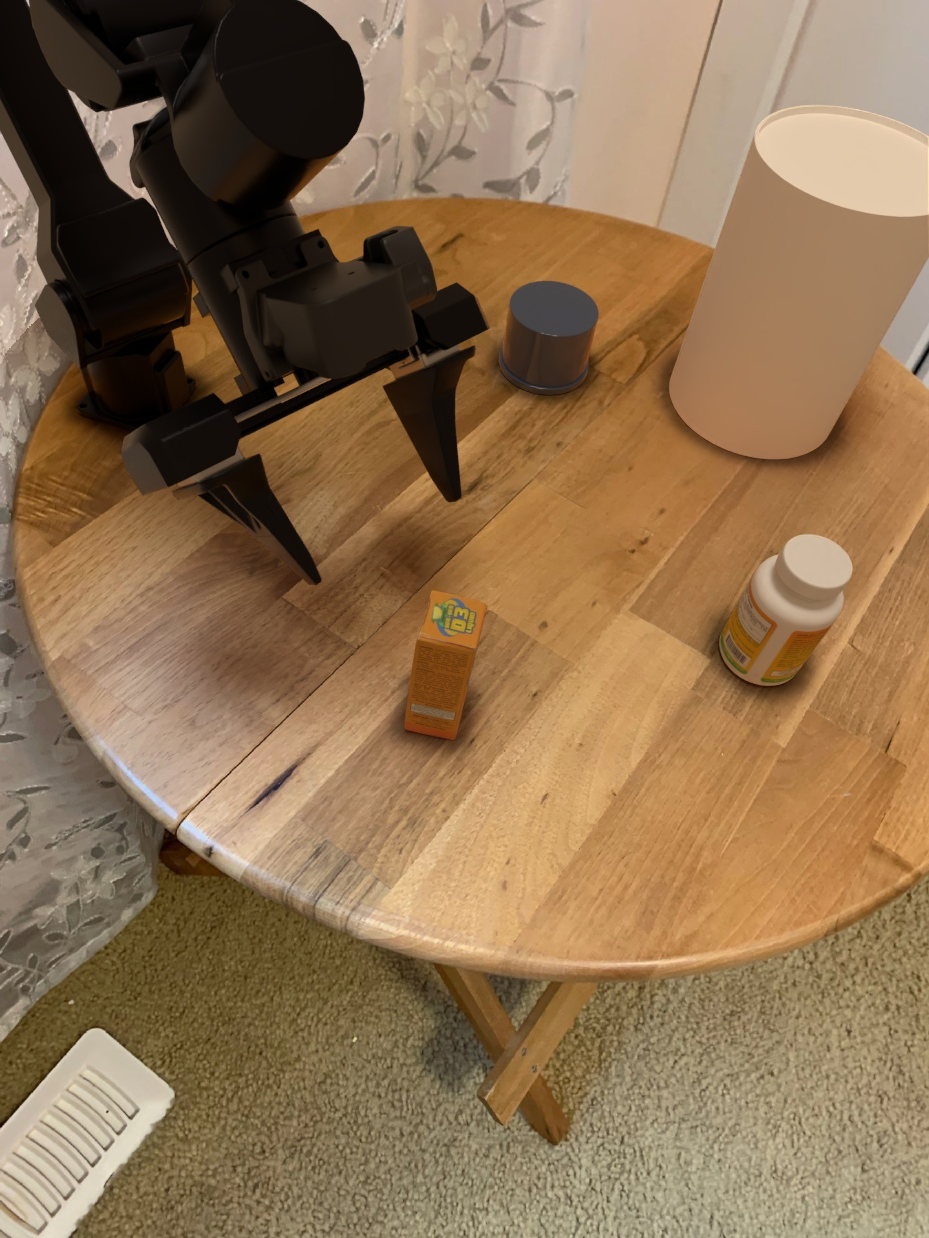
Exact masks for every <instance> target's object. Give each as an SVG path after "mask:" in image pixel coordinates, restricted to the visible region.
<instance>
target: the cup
mask: <svg viewBox="0 0 929 1238" xmlns="http://www.w3.org/2000/svg"><path fill="white" fill-rule="evenodd" d="M508 302H509V303H508V309H507V316H506V322H505V330H504V336H503V343H502V345H501V347H500V348H499V352H498V366H499V367H498V368H499V369H500V371H501V373H502V374H503V376H504V377H505V378H506V380H507V381H509V382H510V383H511V384H513V385H514V386H516V387H517V388H519V389H522V390H523V391H526V392H529V393H532V394H536V395H545V396H557V395H563V394H566V393H570V392H572V391H574V390H576V389H578V388H579V387H580V386H581V385H582V384H583V383H584V382H585V380H586V379H587V377H588V376H587V375H588V371H589V368H590V367H589V366H590V364H589V359H590V354H591V350H592V345H593V341H594V337H595V333H596V329H597V326H598V321H599V317H600V311H599V308H598V305H597V303H596V301H595V300H594V299H593V297H591V295H589V294H588V293H587V292H585V291H584V290H582V289H581V288H578V287H577V286H575V285H572V284H569V283H565V282H563V281H556V280H537V281H532V282H528V283H525V284H523V285H521V286H519V287H518V288H517V289H516V290H514V291H513V293H512V295H511V296H510V298H509V301H508Z"/></svg>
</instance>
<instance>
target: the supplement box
mask: <svg viewBox="0 0 929 1238" xmlns="http://www.w3.org/2000/svg"><path fill="white" fill-rule="evenodd" d="M487 609H488V604H487V603H486V602H483V601H479V600H475V599H472V598H468V597H464V596H461V595H457V594H451V593H449V592H444V591H438V590H431V591H430V596H429V599H428V603H427V607H426V611H425V613H424V617H423V620H422V624H421V627H420V629H419V632H418V634H417V637H416V642H415V646H414V651H413V658H412V664H411V669H410V677H409V684H408V693H407V700H406V706H405V715H404V726H403V727H404V729H405V730H406V731H408V732H409V731H410V732H414V733H419V734H423V735H428V736H432V737H436V738H442V739H447V740H452V741H453V740H456V738H457V734H458V731H459V727H460V723H461V719H462V716H463V711H464V707H465V703H466V697H467V692H468V689H469V686H470V685H469V684H470V680H471V675H472V672H473V668H474V663H475V659H476V655H477V651H478V647H479V642H480V638H481V635H482V630H483V627H484V622H485V619H486V614H487V611H488V610H487Z"/></svg>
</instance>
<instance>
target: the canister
mask: <svg viewBox="0 0 929 1238" xmlns="http://www.w3.org/2000/svg"><path fill="white" fill-rule="evenodd" d="M736 183H737V184H736V186H735V189H734V192H733V194H732V198H731V200H730V204H729V206H728V209H727V212H726V215H725V219H724V221H723V225H722V226H721V227H722V228H721V230H720V232H719V237H718V239H717V241H716V243H715V244H716V245H715V248H714V250H713V253H712V256H711V259H710V262H709V264H708V267H707V271H706V274H705V276H704V279H703V282H702V285H701V288H700V291H699V294H698V296H697V300H696V302H695V306H694V309H693V310H692V314H691V317H690V320H689V323H688V326H687V329H686V331H685V334H684V337H683V340H682V343H681V346H680V348H679V352H678V355H677V357H676V360H675V364H674V366H673V369H672V372H671V375H670V377H669V382H668V392H669V397H670V401H671V403H672V406H673V408H674V410H675V412H676V413H677V414H678V416H679V417H680V419H681V420H682V421H683V422H684V423H685V424H686V425H687V426H688V427H689V428H690V429H691V430H692V431H693V432H695V434H697V435H698V436H700V437H701V438H703V439H705V440H706V441H708V442H709V443H710V444H713V445H714V446H717V447H719V448H721V449H723V450H726V451H729V452H731V453H734V454H737V455H740V456H743V457H748V458H753V459H760V460H787V459H792V458H793V459H794V458H797V457H802V456H805V455H807V454H809V453H811V452H813V451H815V450H816V449H818V448H819V447H820V446H821V445H822V444H824V443H825V441H826V440H827V439H828V437H829V435H830V434H831V432H832V430H833V428H834V426H835V425H836V423H837V421H838V419H839V418H840V416H841V414H842V412H843V410H844V409H845V407H846V406H847V404H848V402H849V400H850V398H851V397H852V394H853V393H854V391H855V389H856V387H857V385H858V384H859V382H860V380H861V379H862V377H863V375H864V373H865V372H866V370H867V368H868V366H869V364H870V363H871V361H872V359H873V357H874V356H875V354H876V352H877V351H878V349H879V347H880V345H881V343H882V342H883V340H884V338H885V336H886V334H887V333H888V331H889V329H890V327H891V325H892V323H893V322H894V320H895V318H896V317H897V315H898V313H899V312H900V310H901V307H902V306H903V305H904V303H905V300H906V299H907V297H908V295H909V294H910V292H911V290H912V288H913V287H914V285H915V283H916V282H917V279H918V277H919V276H920V274H921V272H922V270H923V269H924V267H925V266H926V263H927V261H928V260H929V135H927V134H926V133H924V132H922V131H921V130H919V129H917V128H915V127H912V126H910V125H908V124H906V123H904V122H901V121H899V120H897V119H894V118H891V117H887V116H885V115H882V114H878V113H875V112H871V111H867V110H863V109H857V108H855V107H854V108H853V107H849V106H848V107H847V106H840V105H831V104H805V105H796V106H790V107H785V108H783V109H779V110H776V111H774V112H773V113H770V114H769V115H767V116H766V117H765V118H763V119H762V120H761V121H760V122H759V123H758V125H757V126H756V129H755V131H754V134H753V137H752V140H751V142H750V145H749V149H748V152H747V154H746V157H745V161H744V162H743V166H742V169H741V171H740V175H739V178H738V181H737V182H736Z"/></svg>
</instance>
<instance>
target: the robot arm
mask: <svg viewBox="0 0 929 1238" xmlns="http://www.w3.org/2000/svg"><path fill="white" fill-rule="evenodd" d="M70 92H72V93H74V95H75V96H76V97H77V99H79V100H80V102H81V103H83V105H85V106H86V107H87V108H89V109H90V110H92V111H93V112H95V113H100V112H105V113H108V112H113V111H117V110H121V109H124V108H127V107H131V106H135V105H139V104H142V103H146V102H149V101H153V100H156V99H157V100H158V99H160V98H163V100H164V103H165V105H166V106H165V107H163V108H161V109H160V110H159V111H158V112H156V114H155V115H154V116H153V117H152V118H150V119H147V120H143V121H139V122H135V123H134V124H133V125H132V129H131V131H132V136H133V148H132V152H131V155H130V158H129V163H128V166H129V167H128V168H129V173H130V178H131V181H132V184H133V185H134V186H135V188H137V189H144V188H145V190H146V193H147V194H148V196H149V197H150V200H151V201H152V203H153V205H154V206H153V205H152V204H151V202H149V200H147V199H146V198H145V197H143V196H141V197H138V198H135V197H133V196H132V195H131V194H130V193H128V192H127V191H125V190H124V189H123V188H122V187H120V186H119V185H118V184H117V183H115V182H114V181H113V180H112V179H111V178H110V177H109V174H108V173H107V171H106V169H105V167H104V164H103V162H102V159H101V158H100V156H99V153H98V151H97V150H96V147H95V145H94V143H93V141H92V139H91V136H90V134H89V132H88V129H87V128H86V125H85V123H84V121H83V119H82V116H81V115H80V113H79V111H78V108H77V107H76V104H75V102H74V100H73V98H72V96H71V94H70ZM365 104H366V94H365V85H364V78H363V74H362V70H361V68H360V65H359V61H358V58H357V56H356V54H355V52H354V50H353V48H352V46H351V43H349V41H347V40H346V39H343V38H342V37H341V35H340V34H339V33H338V31H337V30H336V28H335V27H334V26H333V25H332V24H331V23H330V22H329V21H328V20H327V19H326V18H324V16H323V15H322V14H321V13H319V12H318V11H317V10H315V9H313V8H312V7H311V6H309V5H308V4H306V3H304V2H303V1H301V0H28V1H27V0H0V134H1V136H2V137H3V140H4V142H5V143H6V146H7V147H8V149H9V152H10V153H11V156H12V157H13V160H14V161H15V164H16V166H17V168H18V169H19V171H20V173H21V175H22V177H23V179H24V181H25V183H26V185H27V187H28V189H29V191H30V193H31V195H32V198H33V199H34V202H35V204H36V205H37V208H38V216H37V235H36V254H35V257H36V262H37V265H38V267H39V269H40V271H41V273H42V276H43V277H44V280H45V281H46V284H45V285H44V286H43V288H42V290H41V291H40V293H39V296H38V298H37V300H36V301H35V303H34V308H35V310H36V313H37V315H38V316H39V317H38V318H39V319H40V321H41V324H42V325H43V328H44V330H45V332H46V334H47V336H48V337H49V338H50V339H51V340H52V341H53V342H54V343H55V345H56V346H57V347H58V348H59V349H60V350H61V351H62V352H63V353H64V355H66V356H67V357H68V359H69V360H70V361H71V362H72V363H73V364H74V365H75V366H76V367H77V368H78V369H79V370H80V373H81V375H82V378H83V379H82V380H83V382H84V385H85V387H86V391H87V393H86V394H85V395H84V396H83V397H82V398H81V400H79V402H78V403H77V404H76V405H75V406H76V407H75V408H76V410H77V413H78V414H79V415H82V416H85V417H88V418H91V419H94V420H98V421H100V422H103V423H106V424H110V425H113V426H116V427H119V428H122V429H126V430H129V431H131V432H130V433H128V434H127V435H125V436H124V437H123V441H122V445H121V449H120V455H121V458H122V462H123V464H124V466H125V469H126V470H127V473H128V474H129V476H130V477H131V479H132V481H133V483H134V485H135V486H136V488H137V489H138V491H139V493H140V495H141V497H144V496H147V495H151V494H154V493H156V492H160V491H162V490H165V489H168V488H171V487H173V486H175V485H177V486H178V487H177V488H175V489H173V490H171V494H172V495H173V497H174V498H175V500H176V501H182V500H184V499H188V498H192V497H195V496H196V497H198V498H199V499H201V500H202V501H203V502H204V503H207V504H208V505H210V506H211V507H212V508H214V509H215V510H217V511H218V512H220V513H221V514H223V515H224V516H226V517H227V518H228V519H230V520H232V522H234V523H236V524H237V525H238V526H240V527H241V528H243V529H244V530H245V531H246V532H247V533H248V534H250V536H252V537H253V538H254V539H255V540H257V541H258V542H259V543H260V544H261V545H263V547H265V548H266V549H267V550H268V551H269V552H271V553H272V554H273V555H274V556H275V557H276V558H277V559H279V560H280V561H281V562H282V563H283V564H284V565H286V566H287V567H288V568H289V569H290V570H291V571H292V572H293V573H295V574H296V576H298V577H299V578H300V579H301V580H303V581H304V582H305V583H306V584H307V585H309V586H318V585H320V584H321V583H322V581H323V578H322V576H321V574H320V572H319V569H318V567H317V564H316V562H315V561H314V558H313V556H312V554H311V552H310V551H309V548H308V547H307V546H306V544H305V542H304V541H303V539H302V538H301V536H300V534H299V533H298V531H297V529H296V527H295V525H293V523H292V521H291V520H290V518H289V516H288V515H287V513H286V512H285V509H284V508H283V506H282V505H281V503H280V501H279V500H278V498H277V497H276V495H275V494H274V492H273V490H272V488H271V486H270V483H269V479H268V476H267V474H266V469H265V465H264V462H263V457H262V455H261V453H257V454H253V455H250V456H247V457H245V456H244V453H243V452H242V450H241V448H240V446H239V442H240V440H241V439H243V438H245V437H247V436H249V435H251V434H253V433H255V432H258V431H260V430H262V429H264V428H266V427H268V426H270V425H272V424H274V423H276V422H279V421H280V420H282V419H284V418H286V417H288V416H291V415H293V414H294V413H296V412H298V411H301V410H302V409H304V408H307V407H309V406H311V405H313V404H315V403H317V402H319V401H321V400H323V399H325V398H328V397H329V396H331V395H333V394H335V393H338V392H339V391H342V390H343V389H346V388H348V387H350V386H352V385H354V384H356V383H358V382H360V381H363V380H364V379H366V378H368V377H370V376H372V375H375V374H377V373H378V372H380V371H382V370H384V369H386V370H388V371H390V372H391V373H392V376H393V378H394V379H393V380H391V381H390V382H387V383H386V384H383V385H382V389H383V391H384V392H385V395H386V397H387V399H388V400H389V402H390V404H391V406H392V408H393V410H394V412H395V413H396V415H397V417H398V419H399V421H400V423H401V425H402V426H403V428H404V430H405V432H406V434H407V436H408V438H409V440H410V442H411V443H412V445H413V447H414V450H415V452H416V453H417V455H418V457H419V459H420V461H421V462H422V464H423V466H424V469H425V470H426V472H427V473H428V476H429V477H430V479H431V481H432V482H433V484H434V485H435V487H436V488H437V489H438V491H439V493H440V494H441V495H442V497H443V498H444V500H445V501H446V502H447V503H456V502H458V501H460V500H461V499H462V495H463V494H462V481H461V471H460V470H461V469H460V461H459V459H460V458H459V450H458V449H459V448H458V438H457V426H456V425H457V424H456V398H457V397H456V396H457V395H456V394H457V387H458V385H459V382H460V379H461V376H462V372H463V370H464V367H465V365H466V363H467V361H468V360H470V359H472V358H474V357H475V356H476V350H477V348H476V345H475V344H474V345H471V346H469V347H466V348H464V349H461V348H460V344H462V343H464V342H466V341H467V340H469V339H472V338H474V337H476V336H478V335H480V334H482V333H484V332H487V331H488V330H490V329H491V327H490V324H489V322H488V320H487V318H486V315H485V313H484V311H483V307H482V305H481V302H480V300H479V298H478V297H477V296H476V295H475V294H474V293H472V292H471V291H469V290H468V289H467V288H466V287H464V286H463V285H462V284H460V283H459V282H457V281H456V282H453V283H452V284H449V285H447V286H445V287H443V288H441V289H438V286H437V285H438V284H437V281H436V276H435V272H434V271H435V270H434V267H433V263H432V261H431V259H430V257H429V255H428V253H427V251H426V250H425V247H424V245H423V244H422V242H421V239H420V237H419V236H418V235H419V234H417V233H418V232H417V231H416V229H415V228H414V226H409V225H408V226H407V225H406V226H405V225H394V226H392V227H390V228H386V229H385V230H382V231H380V232H377V233H375V234H372V235H369V236H367V237H365V239H364V240H363V244H362V245H363V246H362V247H363V248H362V255H361V256H358V257H355V258H353V259H351V260H349V261H340V260H339V259H338V257H336V255H335V253H334V251H333V250H332V247H331V245H330V242H329V241H328V239H327V238H326V237H324V236H323V235H322V233H321V230H320V229H319V228H317V229H314V230H311V231H309V232H306V231H305V229H304V227H303V225H302V222H301V220H300V218H299V216H298V214H297V212H296V210H295V209H294V205H293V204H292V201H291V200H292V199H294V198H295V197H296V196H297V195H298V194H299V193H300V192H301V191H303V189H305V188H306V186H308V184H310V182H311V181H312V180H314V179H315V178H316V177H317V175H319V173H321V172H322V171H323V169H325V168H326V167H327V166H328V165H329V164H330V163H331V162H332V161H333V160H334V159H335V158H336V157H337V156H338V155H339V154H340V153H341V152H342V151H343V150H344V149H345V148H347V146H348V145H349V144H350V142H352V140H353V138H354V137H355V135H357V133H358V131H359V129H360V126H361V123H362V121H363V118H364V112H365ZM162 223H163V224H162ZM163 225H164V226H163ZM164 227H165V228H164ZM165 229H166V231H167V232H168V235H169V237H170V238H171V240H172V243H171V242H170V240H169V237H168V236H167V233H166V231H165ZM193 283H194V285H195V288H196V290H197V291H198V292H197V293H196V294H195V295H194V296H193ZM192 301H193V303H194V304H195V306H196V308H197V311H198V313H199V314H200V317H201V318H202V319H204V318H206V317H209V316H211V319H212V321H213V322H214V324H215V326H216V328H217V330H218V332H219V334H220V336H221V338H222V340H223V342H224V344H225V346H226V348H227V349H228V352H229V353H230V356H231V357H232V359H233V361H234V363H235V365H236V366H237V370H238V371H239V374H237V375H236V376H234V377H233V380H234V382H235V384H236V386H237V387H238V390H239V391H240V393H241V395H240V396H238V397H236V398H233V399H232V400H230V401H228V402H224V401H223V400H222V399H221V398H220V397H219V396H218V395H217V394H216V393H215V392H212V393H209V394H207V395H205V396H203V397H201V398H199V399H195V400H194V401H192V402H190V403H188V404H185V402H186V401H187V400H188V399H189V397H191V394H192V393H193V392H194V390H196V388H197V380H196V378H195V377H191V376H189V375H186V369H185V365H184V361H183V356H182V353H181V351H180V350H177V348H176V343H175V340H174V335H173V331H175V330H177V329H179V328H185V327H188V326H190V325H191V318H192ZM292 375H293V376H294V378H295V380H296V383H297V385H298V386H296V387H294V388H292V389H290V390H287V391H286V392H283V393H282V394H279V395H278V393H277V391H276V388H278V387H279V386H281V385H284V384H285V383H286V382H285V378H287V377H290V376H292ZM184 404H185V405H184Z"/></svg>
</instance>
